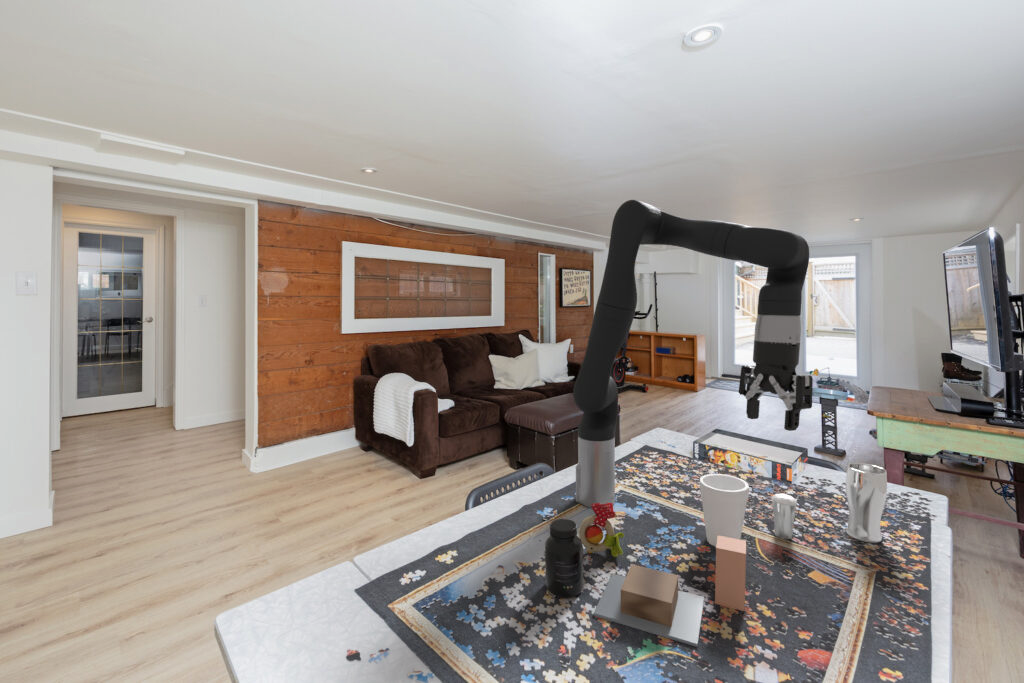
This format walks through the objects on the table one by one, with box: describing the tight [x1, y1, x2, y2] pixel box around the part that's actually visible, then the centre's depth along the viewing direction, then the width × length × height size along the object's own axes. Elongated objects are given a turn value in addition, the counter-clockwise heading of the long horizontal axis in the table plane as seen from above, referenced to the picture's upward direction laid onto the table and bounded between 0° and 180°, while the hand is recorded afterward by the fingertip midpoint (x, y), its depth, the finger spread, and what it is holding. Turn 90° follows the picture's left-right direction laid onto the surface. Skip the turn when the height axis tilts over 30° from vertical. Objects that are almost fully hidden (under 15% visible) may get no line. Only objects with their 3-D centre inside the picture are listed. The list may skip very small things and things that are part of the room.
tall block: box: [714, 535, 747, 612], centre depth 79 cm, size 4×4×10 cm
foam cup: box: [699, 473, 750, 548], centre depth 97 cm, size 10×9×13 cm
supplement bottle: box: [544, 518, 584, 599], centre depth 83 cm, size 7×7×12 cm
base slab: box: [621, 563, 679, 627], centre depth 77 cm, size 8×8×4 cm
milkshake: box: [771, 491, 802, 540], centre depth 99 cm, size 4×5×10 cm
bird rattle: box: [578, 503, 625, 558], centre depth 94 cm, size 6×11×9 cm
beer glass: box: [845, 462, 888, 544], centre depth 98 cm, size 7×7×15 cm
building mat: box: [593, 573, 705, 648], centre depth 77 cm, size 16×12×1 cm
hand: (770, 424), depth 87 cm, fingers open, 8 cm apart
